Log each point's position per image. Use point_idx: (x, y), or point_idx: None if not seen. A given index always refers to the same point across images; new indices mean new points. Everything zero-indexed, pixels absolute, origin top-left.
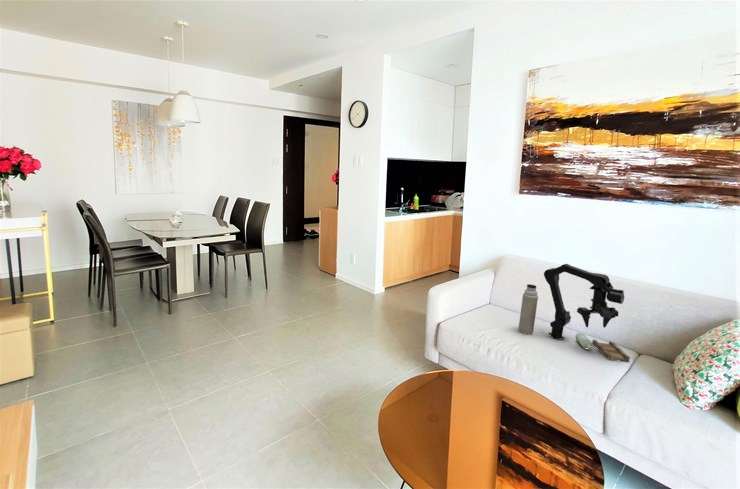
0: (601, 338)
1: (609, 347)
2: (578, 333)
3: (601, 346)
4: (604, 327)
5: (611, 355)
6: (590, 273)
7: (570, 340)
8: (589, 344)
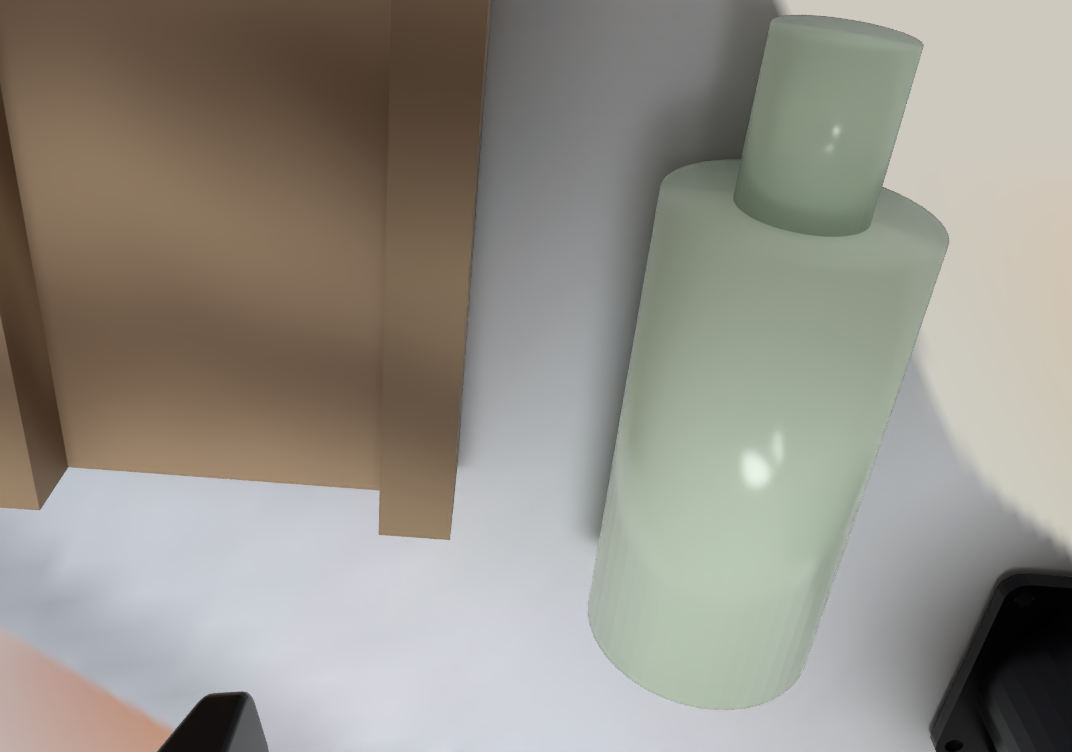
0: (128, 692)
1: (134, 261)
2: (779, 685)
3: (419, 160)
4: (246, 696)
5: None
6: None
7: (883, 548)
8: (841, 138)
